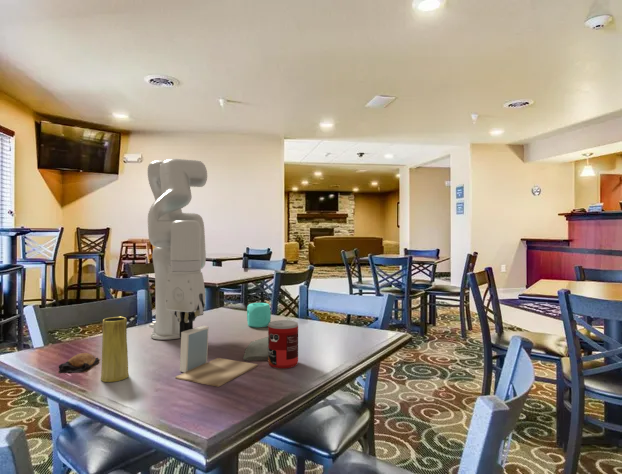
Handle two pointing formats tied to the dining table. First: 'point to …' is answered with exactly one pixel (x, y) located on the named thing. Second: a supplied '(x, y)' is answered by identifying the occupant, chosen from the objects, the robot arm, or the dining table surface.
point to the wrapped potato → (79, 363)
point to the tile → (193, 348)
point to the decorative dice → (258, 315)
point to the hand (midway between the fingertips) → (186, 336)
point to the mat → (217, 372)
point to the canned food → (283, 344)
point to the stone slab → (257, 350)
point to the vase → (114, 350)
